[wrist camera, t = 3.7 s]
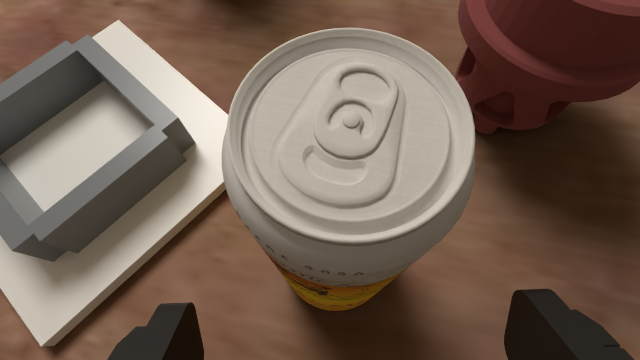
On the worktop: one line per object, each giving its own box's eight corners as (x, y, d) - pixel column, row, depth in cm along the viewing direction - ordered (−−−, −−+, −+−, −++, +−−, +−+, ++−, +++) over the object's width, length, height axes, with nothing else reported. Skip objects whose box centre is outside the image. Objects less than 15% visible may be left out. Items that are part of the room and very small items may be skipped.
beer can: (267, 288, 21) (153, 201, 7) (305, 195, 23) (274, -10, 9) (368, 328, 20) (461, 315, 6) (398, 227, 22) (516, 52, 8)
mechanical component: (592, 81, 26) (541, 190, 23) (463, 24, 28) (400, 116, 25) (796, -112, 15) (750, 51, 12) (554, -182, 17) (461, -61, 14)
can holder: (124, 29, 29) (95, -15, 25) (265, 152, 24) (254, 120, 21) (-74, 166, 24) (-145, 136, 21) (54, 345, 20) (-8, 348, 16)
